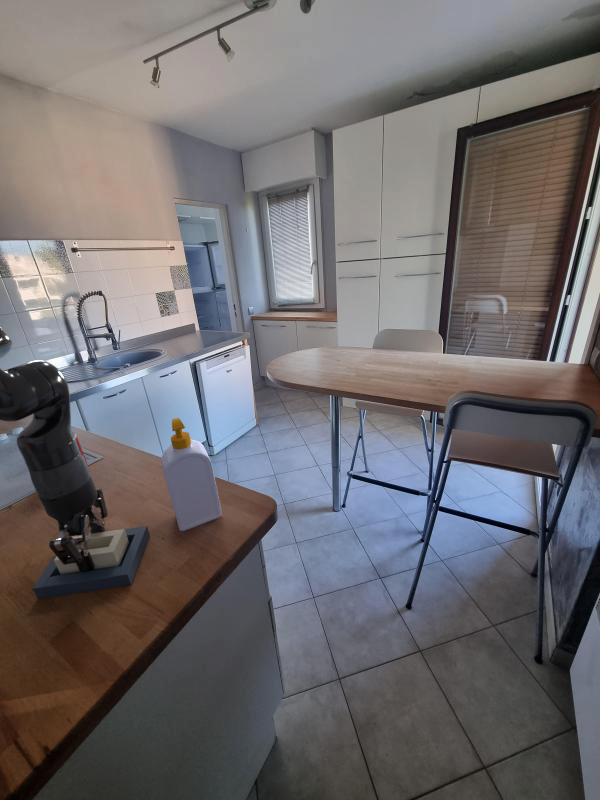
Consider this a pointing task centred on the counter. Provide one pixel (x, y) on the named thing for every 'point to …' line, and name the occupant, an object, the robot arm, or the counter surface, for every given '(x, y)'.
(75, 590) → the tray
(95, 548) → the frame
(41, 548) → the counter surface
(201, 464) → the soap bottle
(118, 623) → the counter surface
